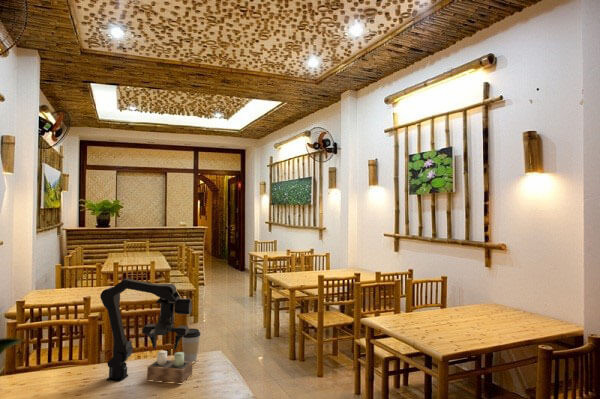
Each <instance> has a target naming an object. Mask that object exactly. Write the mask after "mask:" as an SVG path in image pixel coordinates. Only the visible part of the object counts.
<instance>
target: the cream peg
mask: <svg viewBox="0 0 600 399" xmlns="http://www.w3.org/2000/svg"><path fill="white" fill-rule="evenodd" d="M156 355H157V359H156V361H157V365H163V366H165V365H166V364H167V360H168V351H167V350H158V351H157V354H156Z"/></svg>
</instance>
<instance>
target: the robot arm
mask: <svg viewBox="0 0 600 399" xmlns="http://www.w3.org/2000/svg"><path fill="white" fill-rule="evenodd" d="M127 289H128V290H132V291H137V292H142V293H148V294H153V295H155V296H157V297H158V300H156V301H155V304H160V307H159V308H160V310H159V311H160V312H159V317H158V320H157V323H147V324H146V325H145V326H143V327H142V334H145V335H146V336H147V337H149V339H150V342H151V344H152V348H153V350H155V349H156V345H157V336H166V335H167V333H175V334H176V335H175V337H174V338H175V341H174V351H176V350H177V348H178V346H179V343H180V341H181V339H182V337H183V336H184V335H186V334H187V333H188V332H189V329H190V328H189V326H188V325H184V324H183V325H179V326H177V327H175V325H174V317H175V313H176V314H177V315H191V313H192V310H193V304H192V299H191V298H189V297H188V298H182V297H181V295H180V294H179V293H178V291H177V287H176V286H175V284H173V283H153V282H147V281H144V280H143V281H142V280H137V279H133V278H132V279H131V278H128V277H126V278H124V279H122V280H121V281H120V282H119V283H118V284H115V285H114V286H111V287H108V288H105V289H104V290H102V292H101V293H100V301H101V303H102V305H103V306H104V308H105V309H106V310H107V314H108V319H109V324H110V328H111V333H112V337H113V347H112V357H111V359H109V360H108V362H106V364H107V366H108V377H107V378H106V381H110V382H111V381H112V382H121V381H123V380H124V379H125V377H126V378H127V377H128V376H129V373H128V366H127V365H128V364H127V361H128V359H129V358H130V357H131V356H132V354H133V350H134V347H133V342H132V340H129V341H128V339H127V337H126V334H125V328H124V325H123V320H122V315H121V310H120V302H121V294H122V293H123V292H124V291H126V290H127Z"/></svg>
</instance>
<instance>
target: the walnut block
mask: <svg viewBox="0 0 600 399" xmlns="http://www.w3.org/2000/svg"><path fill="white" fill-rule="evenodd" d="M146 373H147V374H146V376H147V377H146V381H147V380H153V381H162V382H174V383H183V382H184V381H185V380H186V379H187V378H188V377H189V376H190V375H191V374H192V375H193V364H192V362H188V361H184V366H183V367H174V359H167V364H166V365H165V366H163V365H157V360H156V361H154V362H153V363H151V364H150V365H148V366H147V372H146ZM186 381H187V380H186ZM186 381H185V382H186ZM185 382H184V383H185ZM184 383H183V384H184Z"/></svg>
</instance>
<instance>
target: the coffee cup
mask: <svg viewBox="0 0 600 399" xmlns="http://www.w3.org/2000/svg"><path fill="white" fill-rule="evenodd" d="M201 335H202V334H201V332H200V329H198V328H189V332H188V333H187V334H186V335H184V336H183V337H181V339H182V340H181V345H182V352H183V353H184V361H188V362H193V361H196V362H197V358H198V351H199V345H200V337H201Z"/></svg>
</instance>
